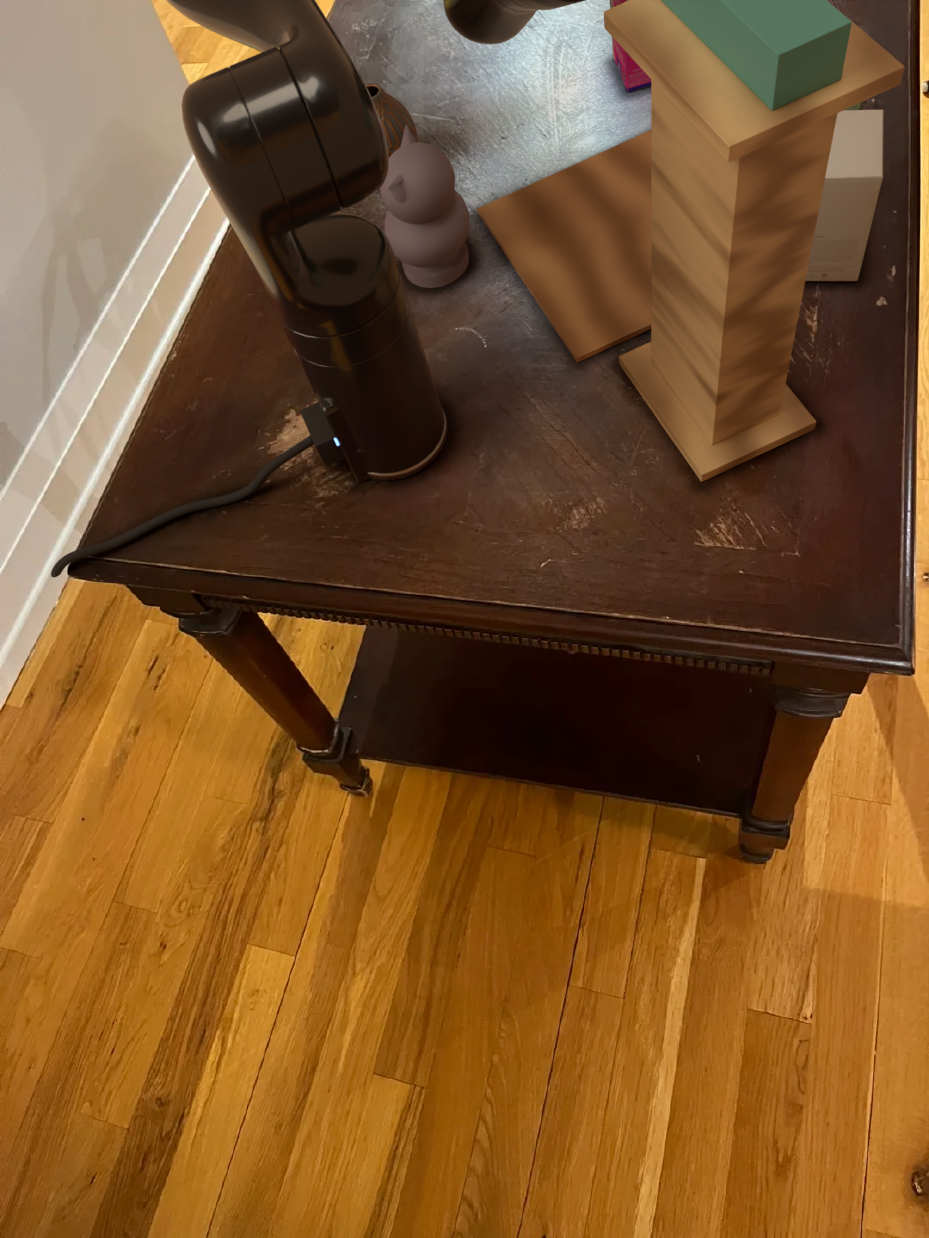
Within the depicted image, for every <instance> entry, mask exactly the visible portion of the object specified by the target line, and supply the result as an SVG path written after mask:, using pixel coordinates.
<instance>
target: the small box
mask: <svg viewBox="0 0 929 1238" xmlns="http://www.w3.org/2000/svg"><path fill="white" fill-rule="evenodd" d="M884 112H885V110H884V109H860V110H844V111H841V112H839V113H837V119H836V124H835V129H834V134H833V140H832V145H831V150H830V155H829V160H828V166H827V171H826V176H825V181H824V186H823V192H822V197H821V202H820V207H819V212H818V218H817V223H816V228H815V233H814V239H813V244H812V249H811V254H810V259H809V265H808V270H807V275H806V280H805V282H857V281H859V276H860V272H861V269H862V265H863V261H864V256H865V252H866V249H867V245H868V240H869V236H870V232H871V228H872V223H873V220H874V215H875V213H876V207H877V202H878V199H879V195H880V191H881V190H880V189H881V188H882V187H881V186H882V183H883V179H884V127H885V126H884V124H885V123H884V122H885V121H884V114H885V113H884Z"/></svg>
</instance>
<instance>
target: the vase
mask: <svg viewBox="0 0 929 1238" xmlns="http://www.w3.org/2000/svg"><path fill="white" fill-rule="evenodd" d="M365 85H366V87H367V89H368V91H369V93H370V95H371V97H372V100H373V102H374V104H375V107H376V109H377V112H378V114H379V117H380V120H381V123H382V126H383V129H384V132H385V136H386V141H387V146H388V154H389V157H390V156H391V155H392V154H393V153H394V152H395V151H396V150H398V149H399V148H401V143H402V139H403V134H404V130H405V125H406V124H407V126H408V128H409V130H410V131H411V133H412V135H413V137H414V138H415V140H416V142H418V143H419V136H418V131H417V127H416V123H415V121H414V119H413V117H412V115H411V113H410V112H409V110H408V109H407V107H406V106H405V105H404V104H403V103H402V102H401V101H400V100H398V99H397V98H396V97H394V96H393V95H391V94H389V93H388V92H387V91H386V90H385V89H384V88H383V87H382V86H381V85H380V84H379V83H375V82H370V83H367V84H366V83H365Z"/></svg>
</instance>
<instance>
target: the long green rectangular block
mask: <svg viewBox="0 0 929 1238" xmlns="http://www.w3.org/2000/svg"><path fill="white" fill-rule="evenodd" d="M661 1H662V2H663V3H664V4H665V5H666V6H667V7H668V8H669V9H670V10H671V11H672V12H673V13H674V14H675V15H676V16H677V17H678V18H679V19H680V20H681V21H682V22H683V23H684V24H685V25H686V26H687V27H688V28H689V29H690V30H691V31H692V32H693V33H694V34H695V35H696V36H697V37H698V38H699V39H700V40H701V41H702V42H703V43H704V44H705V45H706V46H707V47H708V48H709V49H710V50H711V51H712V52H713V53H714V54H715V55H716V56H717V57H718V58H719V59H720V60H721V61H722V62H723V63H724V64H725V65H726V66H727V67H728V68H729V69H730V70H731V71H732V72H733V73H734V74H735V75H736V76H737V77H738V78H739V79H740V80H741V81H742V82H743V83H744V84H745V85H746V86H747V87H748V88H749V89H750V90H751V91H752V92H753V93H754V94H755V95H756V96H757V97H758V98H759V99H760V100H761V101H762V102H763V103H764V104H765V105H766V106H767V107H768V108H769V109H770V110H771V111H773V110H775V109H777V108H780V107H782V106H784V105H786V104H788V103H791V102H793V101H795V100H797V99H799V98H802V97H804V96H806V95H808V94H810V93H813V92H815V91H817V90H819V89H821V88H824V87H826V86H828V85H830V84H832V83H835V82H837V81H839V80H841V78H842V72H843V67H844V62H845V57H846V51H847V46H848V41H849V35H850V30H851V25H852V22H853V21H852V20H851V19H850V18H849V17H847V16H846V15H845V14H844V13H843V12H841V11H840V10H839V9H838V8H837V7H836V6H834V5H833V4H832V2H830V1H829V0H661ZM829 2H830V3H829ZM836 8H837V9H836ZM849 19H850V20H849Z"/></svg>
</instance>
